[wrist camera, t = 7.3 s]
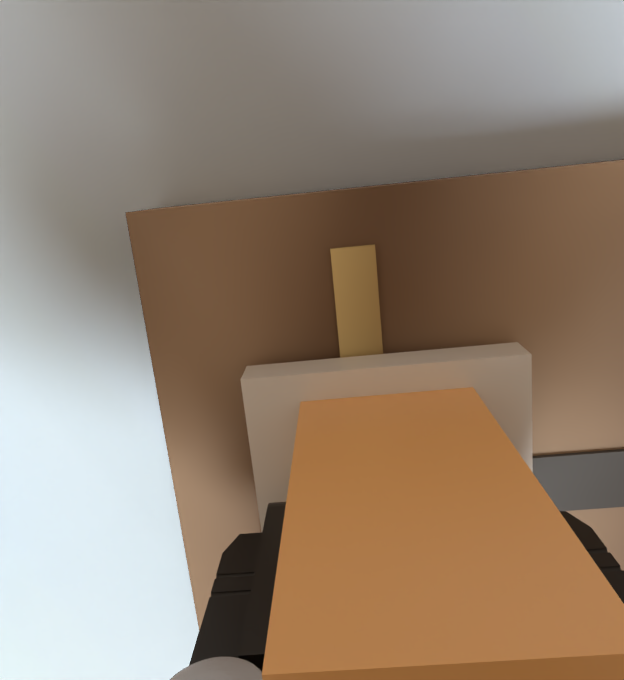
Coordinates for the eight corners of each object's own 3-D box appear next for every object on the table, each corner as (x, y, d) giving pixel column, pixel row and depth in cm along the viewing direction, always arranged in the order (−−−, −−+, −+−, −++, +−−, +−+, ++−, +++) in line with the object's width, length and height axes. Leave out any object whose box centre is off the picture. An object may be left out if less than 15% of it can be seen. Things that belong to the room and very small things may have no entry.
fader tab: (517, 342, 11) (803, 585, 4) (521, 619, 12) (737, 1115, 6) (246, 366, 11) (126, 628, 5) (282, 634, 13) (229, 1122, 6)
